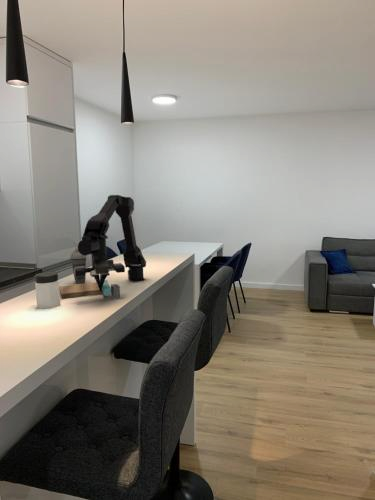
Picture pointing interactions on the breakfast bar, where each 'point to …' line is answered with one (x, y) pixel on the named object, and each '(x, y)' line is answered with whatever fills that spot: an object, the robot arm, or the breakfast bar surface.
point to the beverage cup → (78, 264)
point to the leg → (106, 288)
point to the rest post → (115, 291)
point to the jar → (47, 290)
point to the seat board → (79, 290)
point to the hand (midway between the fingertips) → (100, 291)
